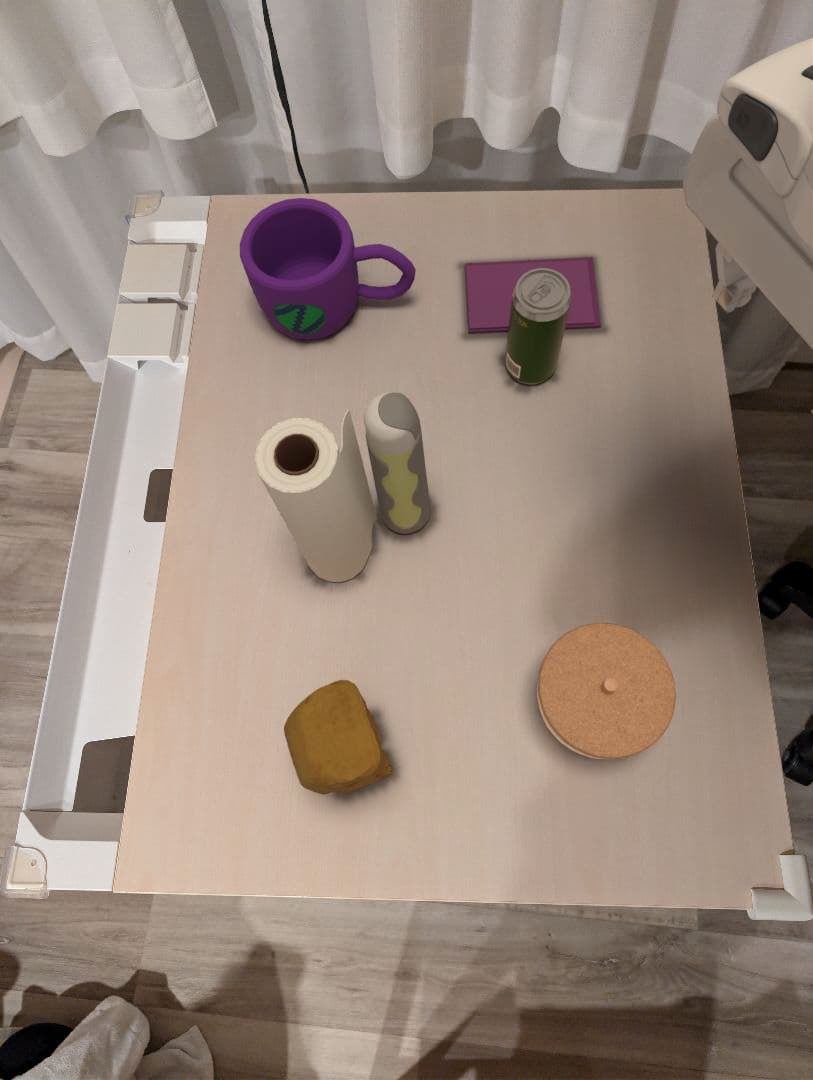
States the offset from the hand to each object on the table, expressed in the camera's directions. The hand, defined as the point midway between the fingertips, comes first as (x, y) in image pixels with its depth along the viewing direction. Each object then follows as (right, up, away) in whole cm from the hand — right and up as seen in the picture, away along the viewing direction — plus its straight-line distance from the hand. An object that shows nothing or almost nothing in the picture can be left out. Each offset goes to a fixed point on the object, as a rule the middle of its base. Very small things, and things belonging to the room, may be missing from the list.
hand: (776, 357), depth 46 cm
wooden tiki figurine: (-27, -30, +22) cm, 46 cm away
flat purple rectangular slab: (-9, +16, +38) cm, 42 cm away
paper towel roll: (-28, -12, +28) cm, 42 cm away
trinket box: (-6, -25, +22) cm, 34 cm away
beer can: (-9, +7, +35) cm, 37 cm away
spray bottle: (-22, -8, +30) cm, 38 cm away
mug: (-30, +15, +39) cm, 51 cm away
